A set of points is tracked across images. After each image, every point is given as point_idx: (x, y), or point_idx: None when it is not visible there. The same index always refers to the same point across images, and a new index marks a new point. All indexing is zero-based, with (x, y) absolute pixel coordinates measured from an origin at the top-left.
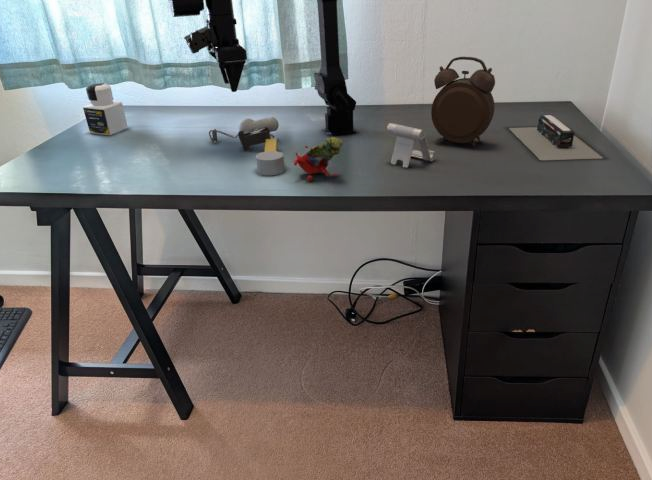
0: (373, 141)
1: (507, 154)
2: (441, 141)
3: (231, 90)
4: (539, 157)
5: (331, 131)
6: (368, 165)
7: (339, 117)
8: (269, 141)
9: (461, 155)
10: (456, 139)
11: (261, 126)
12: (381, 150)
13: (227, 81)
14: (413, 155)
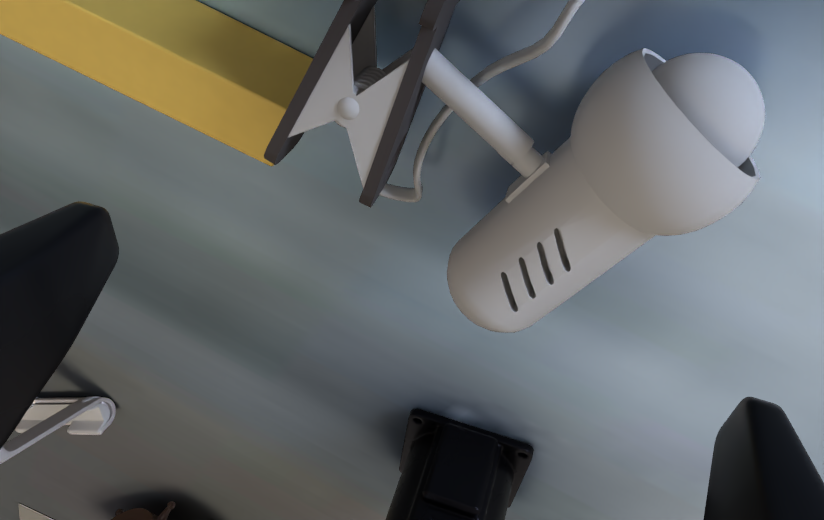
0: (275, 434)
1: (68, 503)
2: (168, 503)
3: (64, 208)
4: (36, 513)
5: (439, 428)
6: None
7: (393, 503)
8: (224, 104)
9: (75, 461)
10: (131, 516)
11: (506, 209)
12: (166, 392)
13: (723, 448)
14: (59, 401)
